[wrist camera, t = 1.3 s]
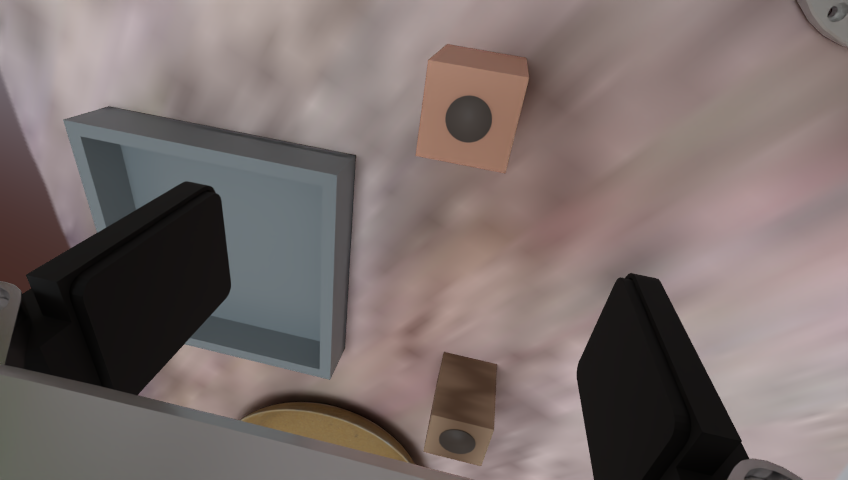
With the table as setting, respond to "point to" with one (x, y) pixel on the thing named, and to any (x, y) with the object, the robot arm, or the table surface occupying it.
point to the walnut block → (462, 409)
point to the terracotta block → (471, 107)
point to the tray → (240, 225)
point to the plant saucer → (330, 427)
